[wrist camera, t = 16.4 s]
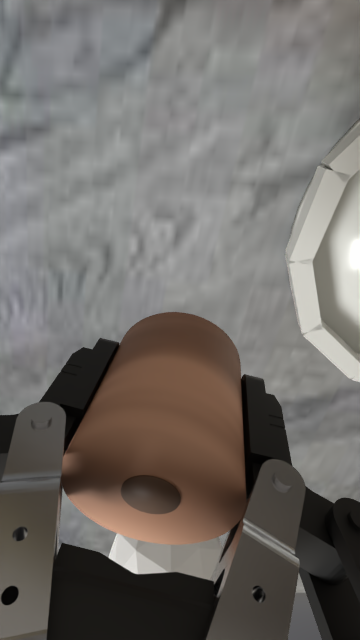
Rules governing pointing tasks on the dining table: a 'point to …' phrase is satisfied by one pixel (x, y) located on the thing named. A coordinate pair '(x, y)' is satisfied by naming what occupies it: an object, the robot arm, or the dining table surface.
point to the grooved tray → (330, 256)
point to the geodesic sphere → (166, 556)
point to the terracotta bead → (163, 436)
